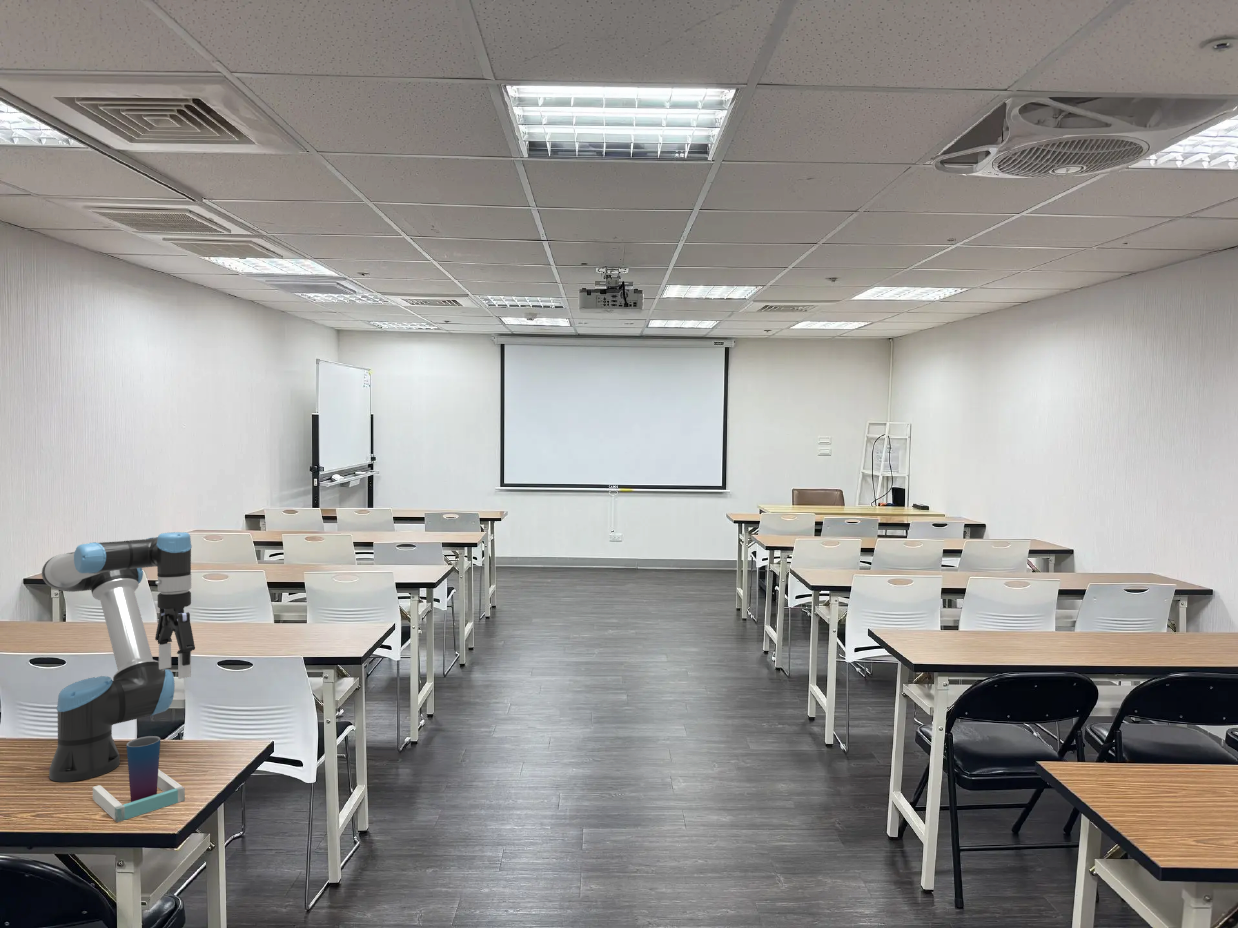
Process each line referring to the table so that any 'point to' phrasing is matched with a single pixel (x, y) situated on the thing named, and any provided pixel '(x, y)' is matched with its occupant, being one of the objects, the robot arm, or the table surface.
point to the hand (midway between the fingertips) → (174, 672)
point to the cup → (143, 766)
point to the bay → (122, 812)
